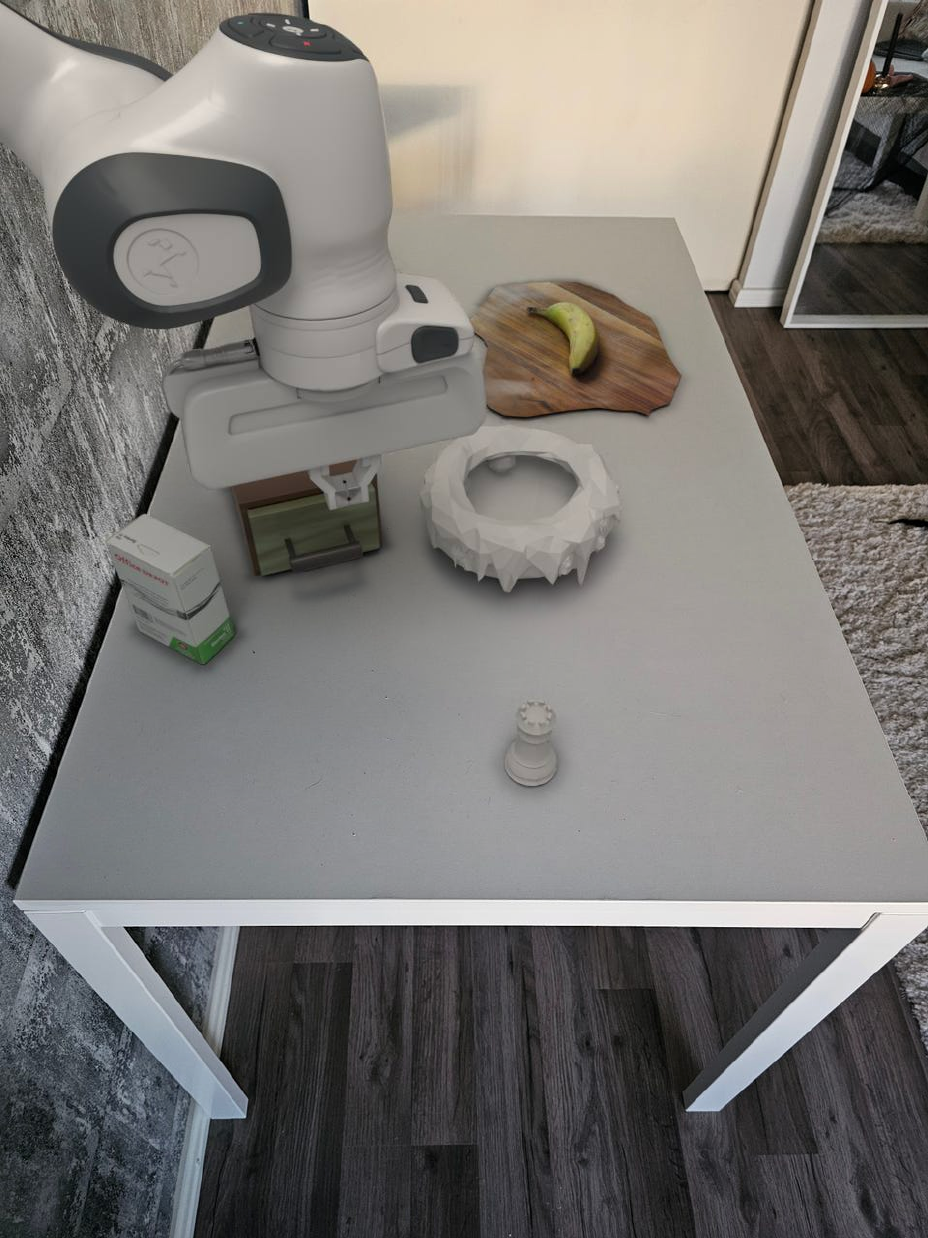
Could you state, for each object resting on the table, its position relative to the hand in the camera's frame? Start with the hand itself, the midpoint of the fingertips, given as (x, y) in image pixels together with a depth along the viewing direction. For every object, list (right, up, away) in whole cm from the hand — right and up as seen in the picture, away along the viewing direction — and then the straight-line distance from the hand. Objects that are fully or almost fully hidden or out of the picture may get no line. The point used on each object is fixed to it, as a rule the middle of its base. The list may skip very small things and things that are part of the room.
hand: (346, 501), depth 66 cm
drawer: (-8, 0, +30) cm, 31 cm away
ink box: (-18, -10, +22) cm, 30 cm away
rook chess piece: (+14, -21, +12) cm, 28 cm away
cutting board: (+22, +28, +57) cm, 68 cm away
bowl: (+14, -1, +31) cm, 34 cm away
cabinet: (-9, +3, +34) cm, 35 cm away
